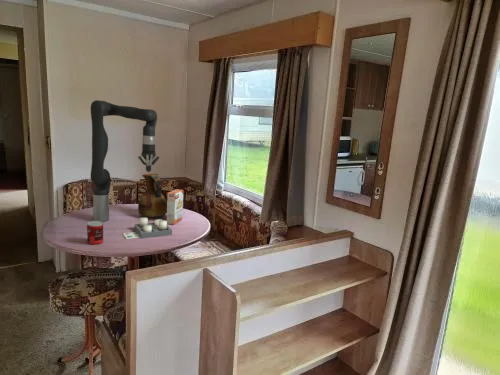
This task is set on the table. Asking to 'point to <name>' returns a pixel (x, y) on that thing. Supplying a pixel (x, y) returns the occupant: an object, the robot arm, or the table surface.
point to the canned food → (95, 232)
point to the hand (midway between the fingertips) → (148, 171)
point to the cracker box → (174, 206)
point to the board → (154, 232)
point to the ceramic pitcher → (152, 198)
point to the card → (131, 235)
